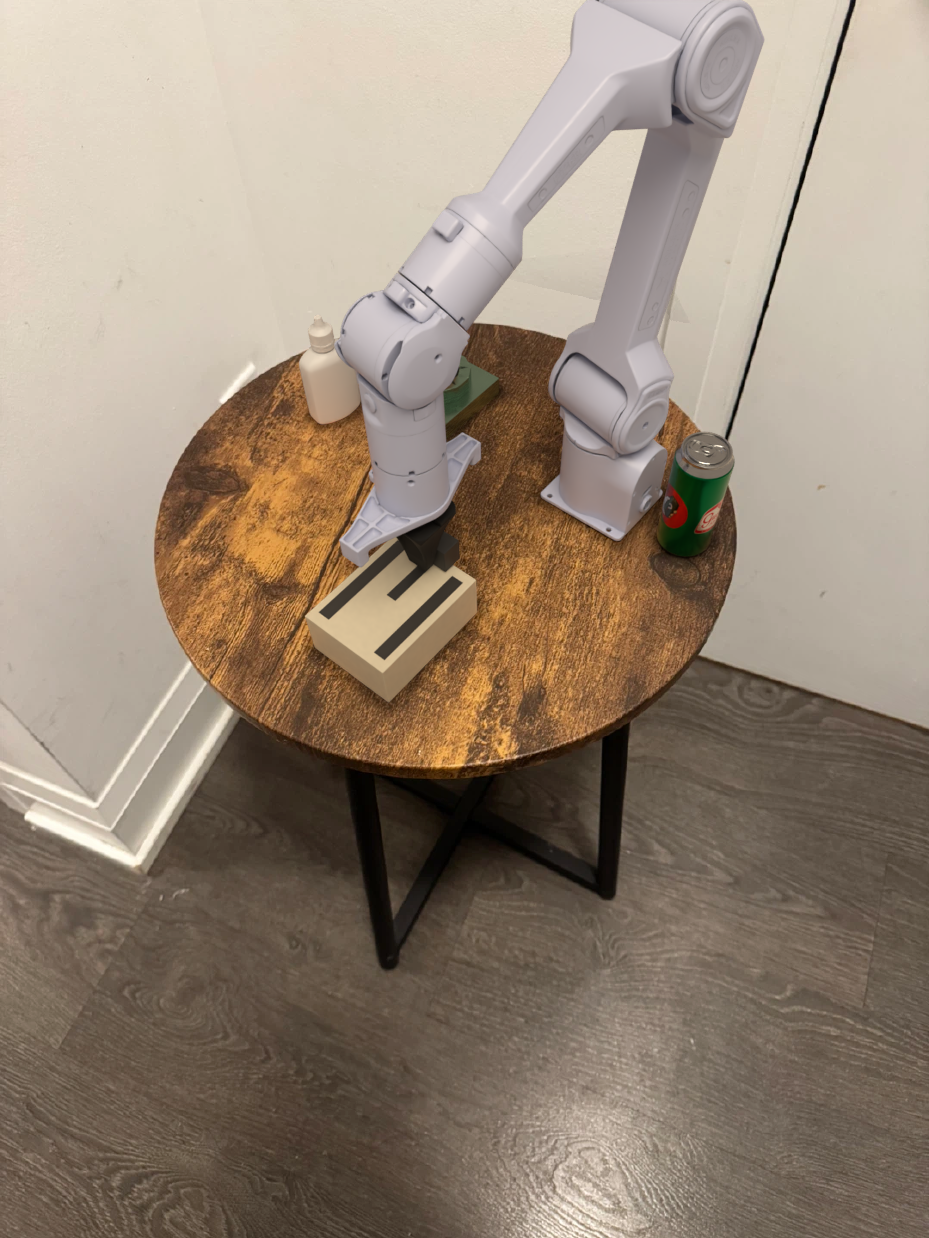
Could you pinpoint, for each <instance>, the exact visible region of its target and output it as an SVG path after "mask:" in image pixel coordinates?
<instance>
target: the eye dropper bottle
mask: <svg viewBox="0 0 929 1238" xmlns="http://www.w3.org/2000/svg"><path fill="white" fill-rule="evenodd" d="M307 333H308V338H309V343H310V347H308V348H307V349H306V350H305V352H304V353H303V354H302V355H301V357H300V359H299V361H298V368H299V372H300V377H301V381H302V386H303V390H304V391H303V392H304V395H305V401H306V404H307V407H308V412H309V415H310V417H311V418H312V419H313V420H314V421H315V422H316V423H317V424H320V425H328V424H332V423H336V422H338V421H341V420H343V419H345V418H346V417H348V416H350V415H351V414H353V412H355V411H356V410H357V409H358V408H359V406H360V405H361V397H360V390H359V384H358V383H357V378H356V373H355V370H354V369H353V368H351V367H349V366H348V365H347V364H345V363H344V362H343V361H342V360H341V359H340V357H339V356H338V354H337V352H336V350H335V347H334V343H335V342H336V341H337V340H338V339H339V338H335V335H334V330H333V326H332V325H331V323H329V322H327V321H324V320H323V318H322V316H321V314H316V315H314V317H313V323H311V325H309V326H308V328H307Z"/></svg>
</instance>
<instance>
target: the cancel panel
mask: <svg viewBox="0 0 929 1238" xmlns="http://www.w3.org/2000/svg"><path fill="white" fill-rule="evenodd" d="M498 395H500V378H499V377H498V376H496V375H495V374H493V373H491V372H489V371H487V370H485V369H483V368H482V367H479V366H477V365H475V364H473V363H471V362H470V361H468V359H467V357H466V356H464V355H462V354H461V359H460V364H459V368H458V371H457V373H456V375H455V378H454V379H453V381H452V383H451V384H450V385H449V386H448V387H447V388H446V389H445V390H444V391H443V397H444V413H445V429H446V440H448V439H449V438H450V437H451V436H452V435H454V433H456V432H457V431H458V430H459V429H460V428H461V427H463V425H464V424H466V423H467V422H468V421H469V420H470V419H472V418H473V417H474V416H475V415H476V414H477V413H479V412H480V411H481V410H482V409H483V408H485V406H487V405H488V404H489V403H490V402H491V401H493V399H494V398H496V397H497V396H498Z"/></svg>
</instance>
